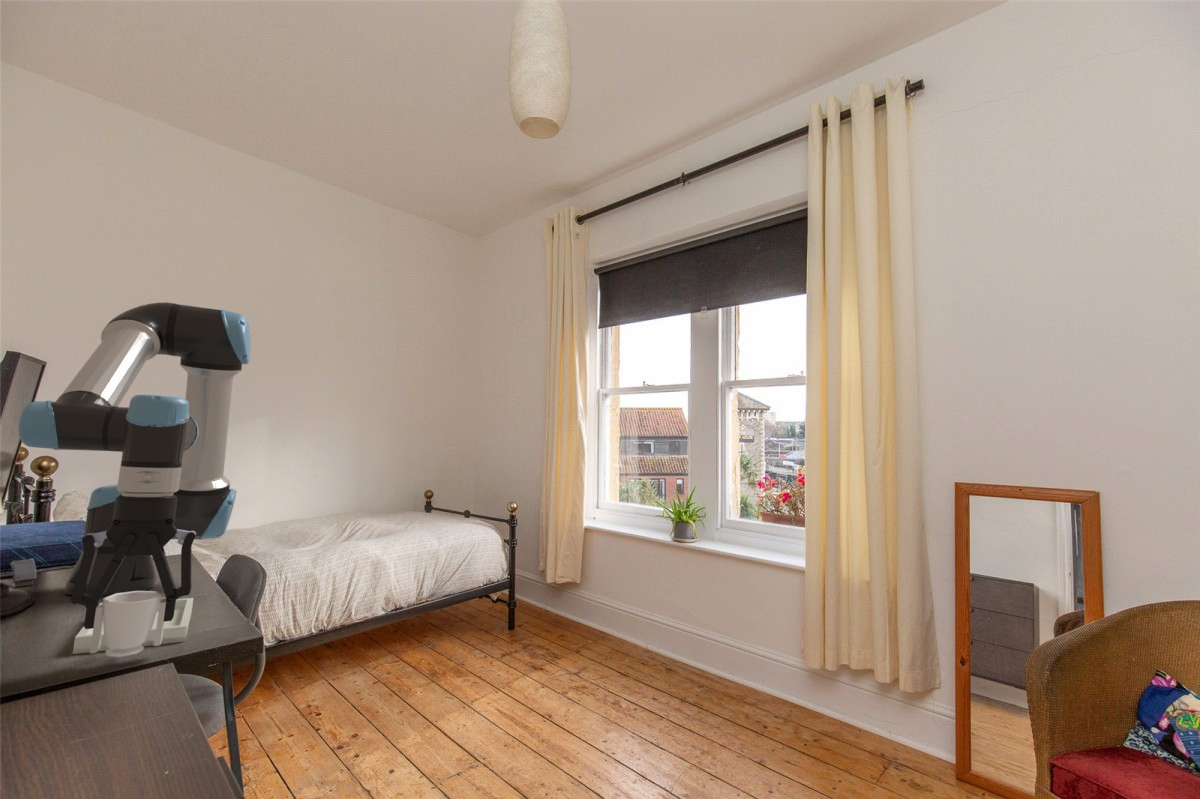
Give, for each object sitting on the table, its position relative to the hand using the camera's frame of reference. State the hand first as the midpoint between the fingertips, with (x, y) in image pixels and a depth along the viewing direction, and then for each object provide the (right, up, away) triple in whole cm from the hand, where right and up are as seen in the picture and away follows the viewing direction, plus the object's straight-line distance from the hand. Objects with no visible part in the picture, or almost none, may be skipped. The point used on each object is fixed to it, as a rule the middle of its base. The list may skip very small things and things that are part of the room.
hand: (127, 646), depth 84 cm
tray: (-9, -3, +13) cm, 17 cm away
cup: (0, -1, 0) cm, 1 cm away
